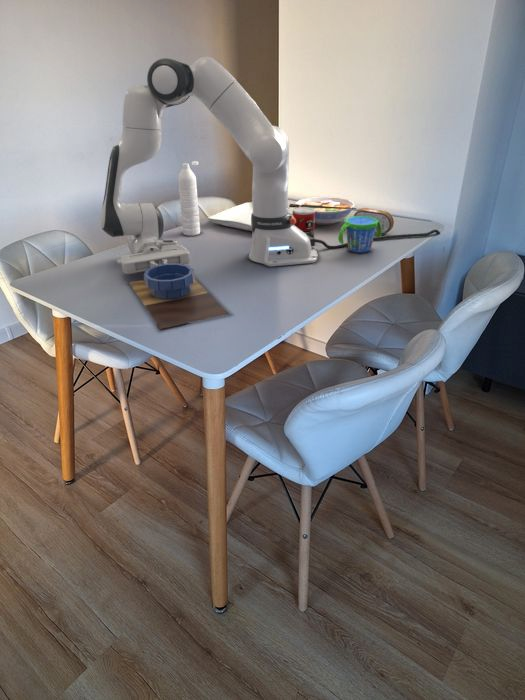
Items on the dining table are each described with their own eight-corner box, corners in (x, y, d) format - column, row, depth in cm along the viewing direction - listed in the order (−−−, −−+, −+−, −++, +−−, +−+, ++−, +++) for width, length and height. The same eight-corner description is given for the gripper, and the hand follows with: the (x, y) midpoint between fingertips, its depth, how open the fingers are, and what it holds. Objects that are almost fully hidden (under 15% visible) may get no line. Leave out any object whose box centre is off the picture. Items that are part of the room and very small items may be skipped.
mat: (144, 306, 136) (144, 305, 135) (208, 294, 142) (208, 292, 142) (160, 330, 124) (160, 328, 124) (229, 315, 131) (229, 313, 130)
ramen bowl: (358, 216, 208) (359, 195, 204) (353, 233, 189) (355, 210, 184) (297, 213, 213) (297, 193, 209) (287, 229, 194) (287, 207, 190)
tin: (392, 234, 186) (395, 211, 182) (389, 236, 184) (392, 213, 180) (354, 228, 193) (356, 206, 189) (351, 230, 191) (352, 208, 187)
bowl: (197, 282, 149) (195, 263, 146) (191, 301, 137) (189, 280, 134) (151, 283, 149) (149, 263, 146) (142, 302, 137) (139, 281, 134)
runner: (129, 283, 150) (129, 282, 150) (187, 272, 156) (187, 271, 156) (144, 306, 136) (144, 305, 135) (208, 294, 142) (208, 292, 142)
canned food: (299, 245, 177) (300, 213, 172) (288, 239, 183) (288, 208, 178) (318, 242, 180) (319, 210, 175) (306, 236, 186) (307, 205, 181)
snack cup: (344, 257, 166) (346, 226, 161) (331, 247, 175) (332, 218, 169) (387, 252, 170) (390, 221, 165) (372, 242, 179) (375, 213, 173)
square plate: (247, 210, 219) (247, 200, 217) (302, 219, 205) (302, 209, 203) (206, 225, 200) (205, 215, 198) (264, 237, 186) (264, 226, 184)
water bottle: (190, 237, 187) (184, 165, 175) (179, 233, 191) (172, 163, 179) (208, 231, 193) (203, 162, 180) (197, 228, 197) (191, 160, 184)
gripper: (114, 249, 151) (124, 264, 140) (180, 239, 159) (195, 252, 148) (117, 269, 154) (127, 285, 144) (182, 258, 162) (196, 273, 151)
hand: (162, 268), depth 146 cm, fingers closed
